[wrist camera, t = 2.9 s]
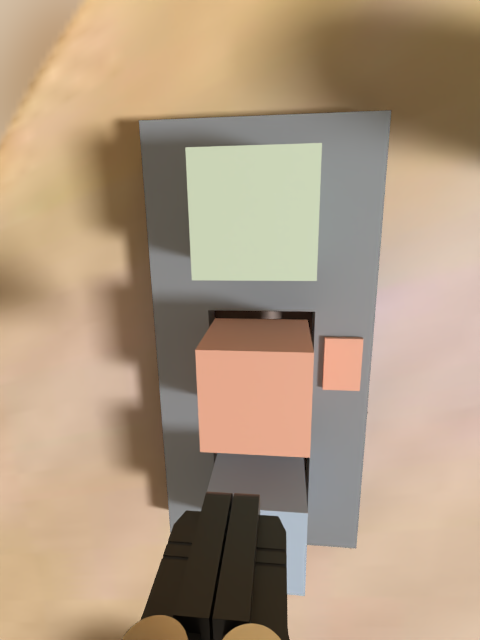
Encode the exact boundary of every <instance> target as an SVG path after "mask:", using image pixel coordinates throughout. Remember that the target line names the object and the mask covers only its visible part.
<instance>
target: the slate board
mask: <svg viewBox="0 0 480 640" xmlns="http://www.w3.org/2000/svg"><path fill="white" fill-rule="evenodd" d="M390 120H391V110H387V111H362V112H337V113H313V114H288V115H263V116H238V117H214V118H189V119H164V120H139V128H140V141H141V154H142V167H143V180H144V193H145V206H146V219H147V232H148V245H149V259H150V272H151V285H152V298H153V311H154V324H155V337H156V350H157V363H158V376H159V389H160V402H161V415H162V428H163V441H164V454H165V467H166V480H167V493H168V506H169V519H170V532H171V531H172V528H173V525H174V524H175V522H176V521H177V520H178V519H179V518H180V517H181V516H182V515H183V513H184V512H185V511H186V510H188V511H201V509H202V505H203V502H204V498H205V495H206V492H207V489H208V486H209V482H210V478H211V475H212V471H213V467H214V464H215V460H216V456H217V453H209V452H200V438H199V418H198V397H197V377H196V356H195V349H196V348H197V346H198V345H199V343H200V341H201V340H202V338H203V337H204V335H205V333H206V332H207V330H208V329H209V327H210V325H211V324H212V322H213V321H214V319H215V310H229V311H307V312H312V338H311V340H312V345H313V350H314V367H313V394H312V420H311V446H310V458H307V478H306V494H307V507H308V525H307V545H318V546H331V547H345V548H356V544H357V531H358V519H359V507H360V494H361V482H362V469H363V457H364V444H365V432H366V419H367V407H368V394H369V382H370V370H371V357H372V345H373V332H374V320H375V307H376V295H377V282H378V270H379V257H380V245H381V233H382V220H383V208H384V195H385V183H386V170H387V158H388V145H389V133H390ZM304 143H322V157H321V184H320V210H319V236H318V262H317V281H219V280H192V274H191V254H190V233H189V213H188V192H187V171H186V151H185V147H211V146H242V145H273V144H304Z"/></svg>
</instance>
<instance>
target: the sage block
mask: <svg viewBox="0 0 480 640" xmlns="http://www.w3.org/2000/svg"><path fill="white" fill-rule="evenodd" d="M185 151H186V171H187V192H188V213H189V233H190V254H191V274H192V280H219V281H317V262H318V236H319V210H320V184H321V157H322V143H304V144H273V145H242V146H211V147H185Z"/></svg>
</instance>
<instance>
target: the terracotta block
mask: <svg viewBox="0 0 480 640" xmlns="http://www.w3.org/2000/svg"><path fill="white" fill-rule="evenodd" d="M195 356H196V377H197V397H198V418H199V438H200V452H209V453H228V454H248V455H267V456H286V457H305V458H310V446H311V420H312V394H313V367H314V350H313V345H312V340H311V335H310V329H309V324H308V320H293V319H227V318H215V319H214V321H213V322H212V324H211V325H210V327H209V329H208V330H207V332H206V333H205V335H204V337H203V338H202V340H201V341H200V343H199V345H198V346H197V348H196V349H195Z"/></svg>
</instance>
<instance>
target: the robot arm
mask: <svg viewBox="0 0 480 640" xmlns="http://www.w3.org/2000/svg"><path fill="white" fill-rule="evenodd" d="M286 550H287V549H286V530H285V528H284V526H283V524H282V522H281V520H280V518H279V516H269V515H260V494H243V493H234V496H233V493H224V492H206V495H205V498H204V502H203V505H202V509H201V511H188V510H186V511H185V512H184V513H183V515H182V516H181V517H180V518H179V519H178V520H177V521H176V522H175V524H174V525H173V528H172V531H171V534H170V537H169V540H168V544H167V546H166V549H165V552H164V554H163V559H162V560H161V563H160V566H159V569H158V572H157V575H156V578H155V581H154V584H153V586H152V589H151V592H150V595H149V598H148V601H147V604H146V607H145V610H144V613H143V615H142V617H141V620H140V621H139V622H137V623H136V624H135V625H133V626H132V627H131V628H130V629H129V630H128V631H127V632H126V634H125V635H124V636H123V638H122V640H290V639H289V635H288V628H287V553H286Z"/></svg>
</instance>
